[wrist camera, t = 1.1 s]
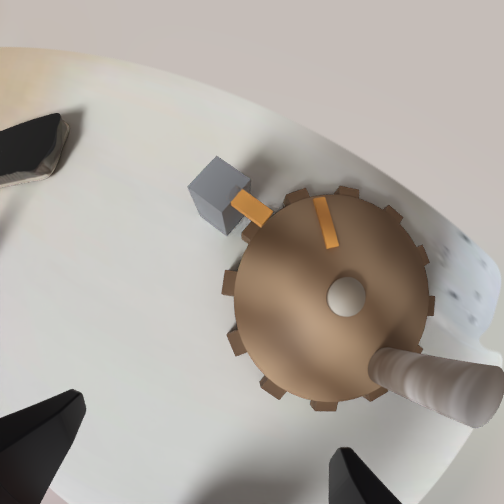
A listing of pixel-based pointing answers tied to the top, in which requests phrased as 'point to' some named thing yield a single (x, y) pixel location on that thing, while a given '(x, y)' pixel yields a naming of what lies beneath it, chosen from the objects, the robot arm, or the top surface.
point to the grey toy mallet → (226, 197)
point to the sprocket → (347, 311)
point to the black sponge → (31, 149)
